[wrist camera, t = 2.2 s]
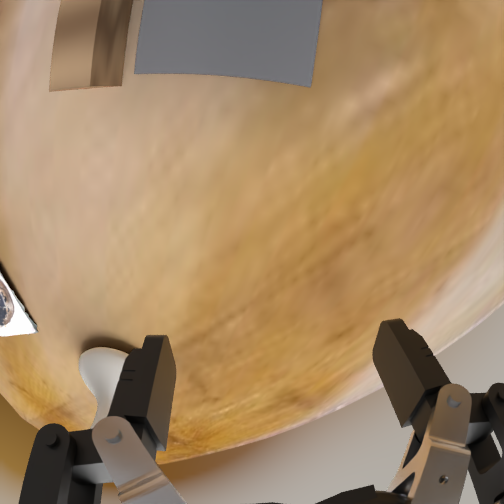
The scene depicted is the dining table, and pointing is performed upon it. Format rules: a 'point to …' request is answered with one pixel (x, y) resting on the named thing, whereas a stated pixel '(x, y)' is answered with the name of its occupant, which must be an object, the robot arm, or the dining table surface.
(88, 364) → the flower in vase
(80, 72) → the brown rectangular block
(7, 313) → the head bust
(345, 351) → the dining table surface
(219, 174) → the dining table surface
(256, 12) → the mat
